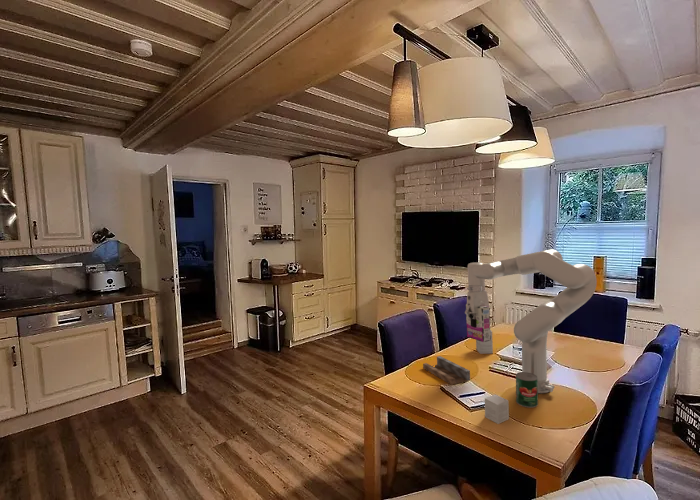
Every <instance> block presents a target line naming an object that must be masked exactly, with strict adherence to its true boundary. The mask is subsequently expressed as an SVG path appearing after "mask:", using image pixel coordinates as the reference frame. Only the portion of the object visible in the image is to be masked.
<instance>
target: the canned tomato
mask: <svg viewBox="0 0 700 500" xmlns="http://www.w3.org/2000/svg"><path fill="white" fill-rule="evenodd" d="M538 396H539V393H538V377H537V376H536V375H535V374H532V373H528V372H522V371H520V372H516V373H515V402H516V404H518V405H519V406H521V407H525V408H532V409H533V408H537V406H538V405H539V401H538V400H539V397H538Z"/></svg>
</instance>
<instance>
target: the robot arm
mask: <svg viewBox="0 0 700 500" xmlns="http://www.w3.org/2000/svg"><path fill="white" fill-rule="evenodd" d="M537 273H541V274H542V275H544V276H546V277H548V278H550V279H551V280H553V281H554V282H556V283H558V284H560V285H562V286H564V287H565V289H563V290H562V291H560V293H558V294H557V295H556V296H554V297H552V298H551V299H550V300H548V301H546V302H543V303H541V304H539V305H538V306H536V307H535V308H534V309H532V310H531V311H530V312H528V313H527V314H526V315H525V316H523V317H522V318H520V320H518V321H517V322H516V323H515V324H514V327H513V334H514V336H515V338H516V339H517V340H518V341H520V342H521V368H522V369H521V370H522V371H521V372H528V373H532V374H535V375H536V376H537V377H538V394H547V393H549V392H550V393H552V392H553V391H554V389H555V385H553V384H550V379H548V373H547V372H548V371H547V369H548V367H547V366H548V365H547V363H548V361H547V356H548V355H547V352H548V351H547V350H548V349H547V345H548V344H547V343H548V335H549V334H548V333H549V331H551V330H552V329H554V328H556V327H557V326H558V325H559V324H561V323H562V322H563V321H564V320H565V319H566V318H568V317H569V316H570V315H571V314H573V313H574V312H575V311H577V310H578V309H580V307H582V306H583V305H585V304H586V303H587V302H588V301H589V300H591V298H592V296H593V295H594V293H595V291H596V288H597V283H598V282H597V276H596V272H595V271H594V269H593V268H592V267H591V266H589V265H587V264H584V263H576V264H571V263H568V262H567V261H566V260H564V259H563V256H562V254H561V253H560V252H559V251H557V250H556V249H547V250H541V251H537V252H531V253H527V254H522V255H517V256H516V257H512V258H507V259H502V260H496V261H492V262H488V263H483V262H470V263H468V264H467V282H468V284H467V285H468V286H467V287H466V289H467V290H468V291H467V297H466V304H467V309H466V308H465V311H464V314H465V315H468V317H469V318H470V319H471V327H475V328H476V319H475V316H476V313H478V307H480V306H489V307H490V304H489V303H490V300H489V295H488V292H487V290H486V282H485V280H490V281H491V280H494V279H497V278H501V277H505V276H507V277H508V276H513V275H522V276H523V275H530V274H537ZM469 312H470V313H469ZM472 314H473V315H472Z"/></svg>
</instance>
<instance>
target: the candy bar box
mask: <svg viewBox="0 0 700 500" xmlns="http://www.w3.org/2000/svg"><path fill="white" fill-rule="evenodd" d="M466 309H467V303H466V304H465V310H466ZM490 310H491V307H490V305H489V306H480V307H478V313H476V316H475V319H476V328H475V327H471V319H470V318H469V317H468V315H466V314H465V315H466V316H465V318H466V319H465V320H466V321H465V322H466V337H467V338H469V339H471V340H472V339H473V340H475V341H476V340H478V341H481V342H487V341H491V333H490V330H491V314H490V313H491V312H490ZM469 313H470V312H469ZM472 315H473V314H472Z"/></svg>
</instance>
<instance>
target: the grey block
mask: <svg viewBox="0 0 700 500" xmlns="http://www.w3.org/2000/svg"><path fill="white" fill-rule="evenodd" d="M509 409H510V407H509V400H508V399H506V398H504V397H502V396H500V395H498V394H493V395H490V396H488V397H485V398H484V417H485V418H486V419H488V420H489V421H492V422H493V423H495V424H497V425H500V424H501V423H503V422H505V421H506V422H507V421H508V420H509V419H510V413H509V412H510V410H509Z"/></svg>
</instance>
